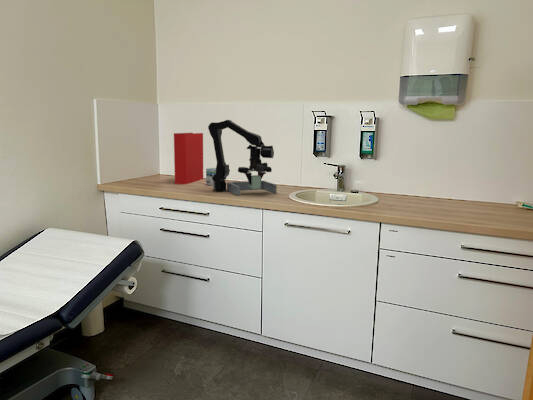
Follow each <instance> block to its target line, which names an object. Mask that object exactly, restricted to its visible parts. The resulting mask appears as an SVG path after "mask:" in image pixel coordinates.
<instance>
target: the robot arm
mask: <svg viewBox="0 0 533 400" xmlns="http://www.w3.org/2000/svg"><path fill="white" fill-rule="evenodd" d="M207 129H208V131H209V134H210V136H211V137H212V142H213V147H214V153H215V161H216V174H215V175H214V176H213V177H212V179H213V181H214V186H213V188H212V190H213V191H214V192H227V182H226V179H227V177H229V175H230V172H231V170H230V164H227V163H226V160H225V155H224V150H223V147H224V146H223V142H222V136H223V135H222V134H223V130H225V129H230V130H231V131H233V132H235V133H236V134H238V135H239V136H241V137H243V138H244V139H245V140H246V142H247V143H248V144H249V145H248V146H247V147H246V150H249V159H248V160H249V166H248V167H246V166H239V167H238V168H237V172H238V173H240V174H244V175H245V177H246V179H247V181H249V184H250V185H251V176H252V174H253V173H252V172H257V175H258V176H261V180H262V179H263V177H264V175H266V174H267V173H271V172H272V167H271V166H269V165H268V162H262V159H261V158H264V159H273V158H274V156H275V151H274V146H273V145H265V143H264V141H262V140H263V139H262V136H261V135H259V134H257V133H254V132H251V131H248V130H246V128H245V129H244V127H242V126H241V125H238V124H237V123H235V122H234V121H233V120H232V119H225V120H223V121H219V122H210V123H209V125H208V127H207Z"/></svg>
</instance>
